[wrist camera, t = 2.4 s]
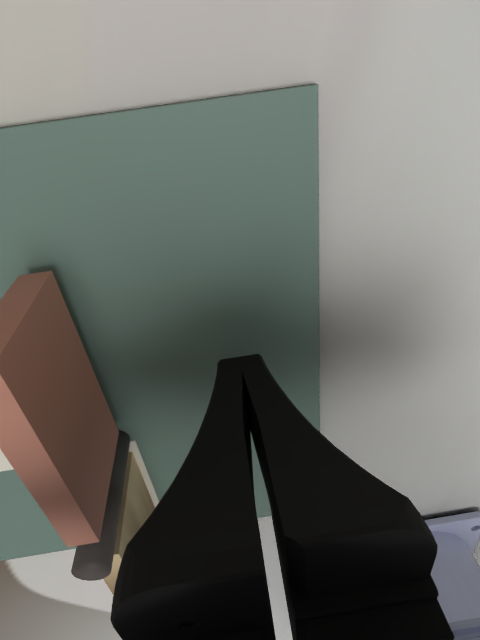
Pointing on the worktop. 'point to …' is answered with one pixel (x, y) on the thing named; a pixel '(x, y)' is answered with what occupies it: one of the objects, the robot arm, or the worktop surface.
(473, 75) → the worktop surface
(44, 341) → the gate panel
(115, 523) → the tan and grey block
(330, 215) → the worktop surface
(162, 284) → the card
